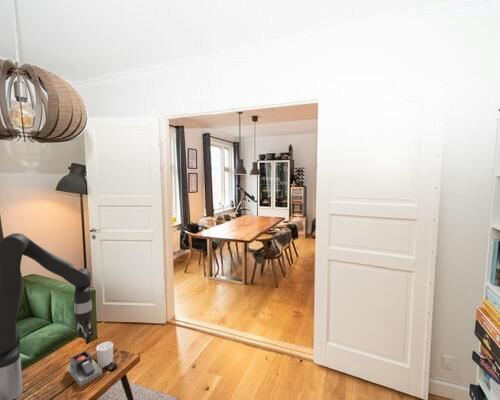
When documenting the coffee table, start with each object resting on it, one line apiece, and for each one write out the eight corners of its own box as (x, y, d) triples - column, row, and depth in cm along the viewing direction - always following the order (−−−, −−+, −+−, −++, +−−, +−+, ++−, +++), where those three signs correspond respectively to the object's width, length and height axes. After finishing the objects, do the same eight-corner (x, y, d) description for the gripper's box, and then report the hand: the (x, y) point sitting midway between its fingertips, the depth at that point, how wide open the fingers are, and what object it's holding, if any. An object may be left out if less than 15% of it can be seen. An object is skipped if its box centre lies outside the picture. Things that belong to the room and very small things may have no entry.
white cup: (102, 370, 136) (101, 352, 135) (94, 365, 141) (93, 347, 140) (116, 361, 143) (116, 344, 142) (108, 356, 147) (107, 339, 146)
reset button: (78, 365, 134) (78, 362, 134) (74, 361, 136) (74, 359, 136) (87, 360, 137) (87, 358, 137) (84, 357, 140) (84, 354, 140)
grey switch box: (80, 386, 126) (79, 373, 125) (67, 371, 136) (67, 358, 135) (102, 374, 134) (101, 361, 133) (88, 360, 144) (88, 348, 143)
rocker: (86, 375, 129) (87, 373, 128) (81, 366, 133) (81, 363, 132) (94, 371, 131) (94, 368, 131) (88, 362, 135) (88, 359, 135)
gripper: (69, 307, 133) (70, 338, 134) (81, 317, 124) (82, 349, 126) (85, 302, 139) (86, 331, 140) (97, 310, 130) (98, 341, 132)
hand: (84, 339), depth 133 cm, fingers open, 8 cm apart
